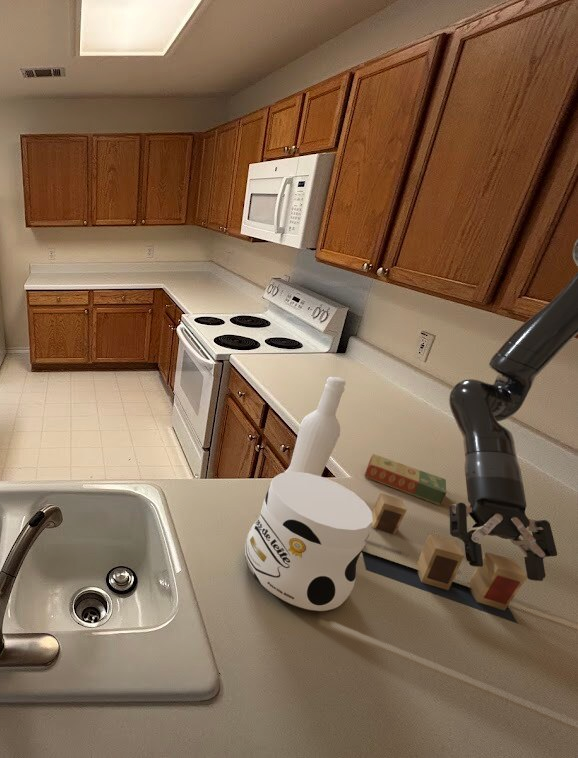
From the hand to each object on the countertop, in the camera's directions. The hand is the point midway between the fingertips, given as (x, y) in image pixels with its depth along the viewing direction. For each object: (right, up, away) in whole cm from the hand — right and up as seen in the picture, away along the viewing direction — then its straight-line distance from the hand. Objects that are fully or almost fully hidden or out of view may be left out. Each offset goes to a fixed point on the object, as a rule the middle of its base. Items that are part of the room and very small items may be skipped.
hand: (505, 573), depth 71 cm
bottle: (-20, +6, +30) cm, 36 cm away
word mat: (-8, -5, +6) cm, 11 cm away
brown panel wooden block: (-8, -4, +6) cm, 10 cm away
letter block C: (-1, -6, +3) cm, 7 cm away
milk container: (-35, -3, +5) cm, 35 cm away
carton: (+11, +6, +36) cm, 39 cm away
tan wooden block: (-8, 0, +19) cm, 20 cm away
